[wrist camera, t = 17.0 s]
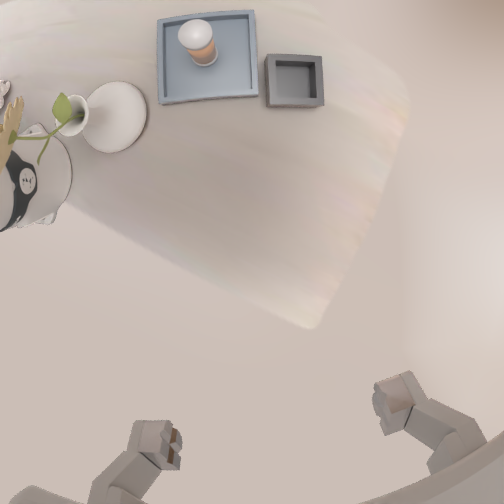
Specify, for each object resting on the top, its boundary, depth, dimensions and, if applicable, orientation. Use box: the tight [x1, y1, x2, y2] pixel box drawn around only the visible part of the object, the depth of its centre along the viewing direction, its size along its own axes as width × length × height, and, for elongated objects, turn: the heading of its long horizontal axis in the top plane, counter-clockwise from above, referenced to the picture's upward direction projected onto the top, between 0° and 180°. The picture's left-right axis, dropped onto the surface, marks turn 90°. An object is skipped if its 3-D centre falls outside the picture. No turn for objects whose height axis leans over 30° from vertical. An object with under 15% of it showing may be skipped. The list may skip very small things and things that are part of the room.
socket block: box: [264, 54, 324, 108], centre depth 35 cm, size 7×7×4 cm
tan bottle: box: [178, 19, 218, 67], centre depth 29 cm, size 4×4×11 cm
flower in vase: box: [0, 81, 147, 174], centre depth 26 cm, size 13×11×25 cm
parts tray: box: [157, 10, 259, 105], centre depth 33 cm, size 14×14×2 cm
